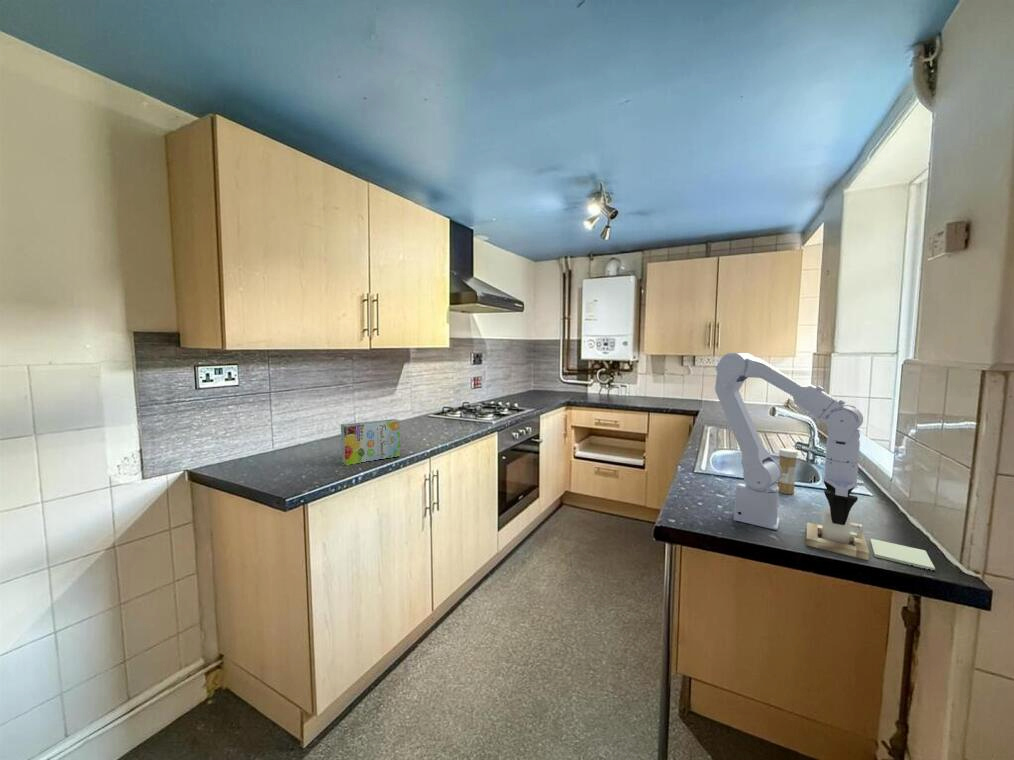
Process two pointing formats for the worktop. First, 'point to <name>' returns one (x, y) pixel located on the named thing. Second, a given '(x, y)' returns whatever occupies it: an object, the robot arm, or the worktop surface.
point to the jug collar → (836, 543)
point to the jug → (839, 529)
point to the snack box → (370, 441)
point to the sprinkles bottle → (787, 470)
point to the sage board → (901, 554)
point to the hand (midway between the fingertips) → (837, 518)
